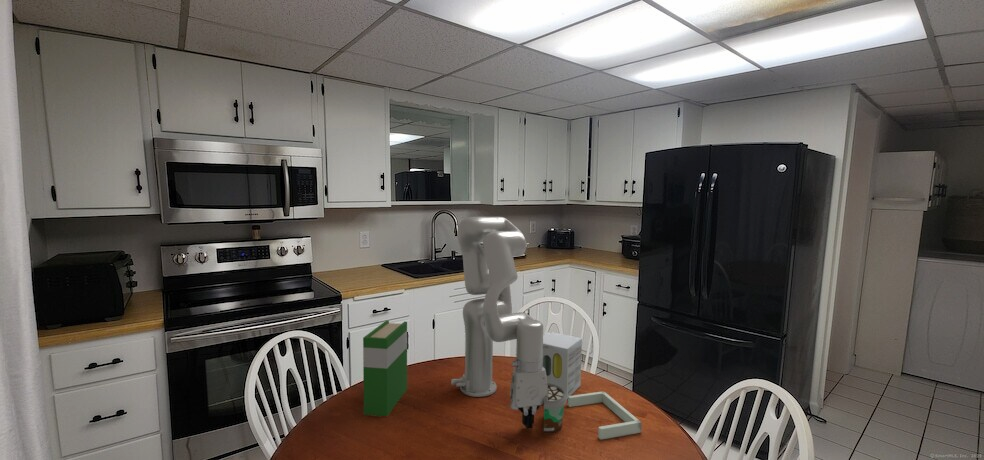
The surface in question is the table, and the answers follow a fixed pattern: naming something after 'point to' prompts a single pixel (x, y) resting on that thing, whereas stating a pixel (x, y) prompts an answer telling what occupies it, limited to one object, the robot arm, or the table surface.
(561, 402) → the food container
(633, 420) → the bay
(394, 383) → the hardback book
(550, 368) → the supplement box
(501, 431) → the table surface
